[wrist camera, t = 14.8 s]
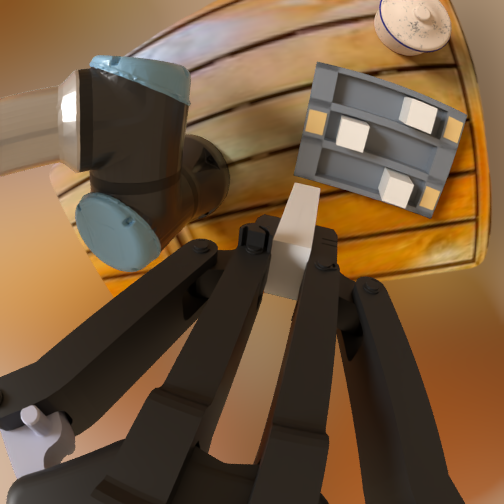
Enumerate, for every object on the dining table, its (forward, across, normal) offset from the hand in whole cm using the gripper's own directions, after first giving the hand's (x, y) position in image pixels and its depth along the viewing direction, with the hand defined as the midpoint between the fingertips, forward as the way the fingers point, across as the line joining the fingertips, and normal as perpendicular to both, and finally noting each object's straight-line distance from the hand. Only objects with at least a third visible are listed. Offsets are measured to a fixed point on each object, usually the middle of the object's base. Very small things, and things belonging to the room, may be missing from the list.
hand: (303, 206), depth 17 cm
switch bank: (+28, +9, +1) cm, 30 cm away
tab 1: (+27, +4, +1) cm, 27 cm away
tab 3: (+27, +12, +6) cm, 30 cm away
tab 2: (+27, +12, -5) cm, 30 cm away
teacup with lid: (+29, +8, +20) cm, 36 cm away
